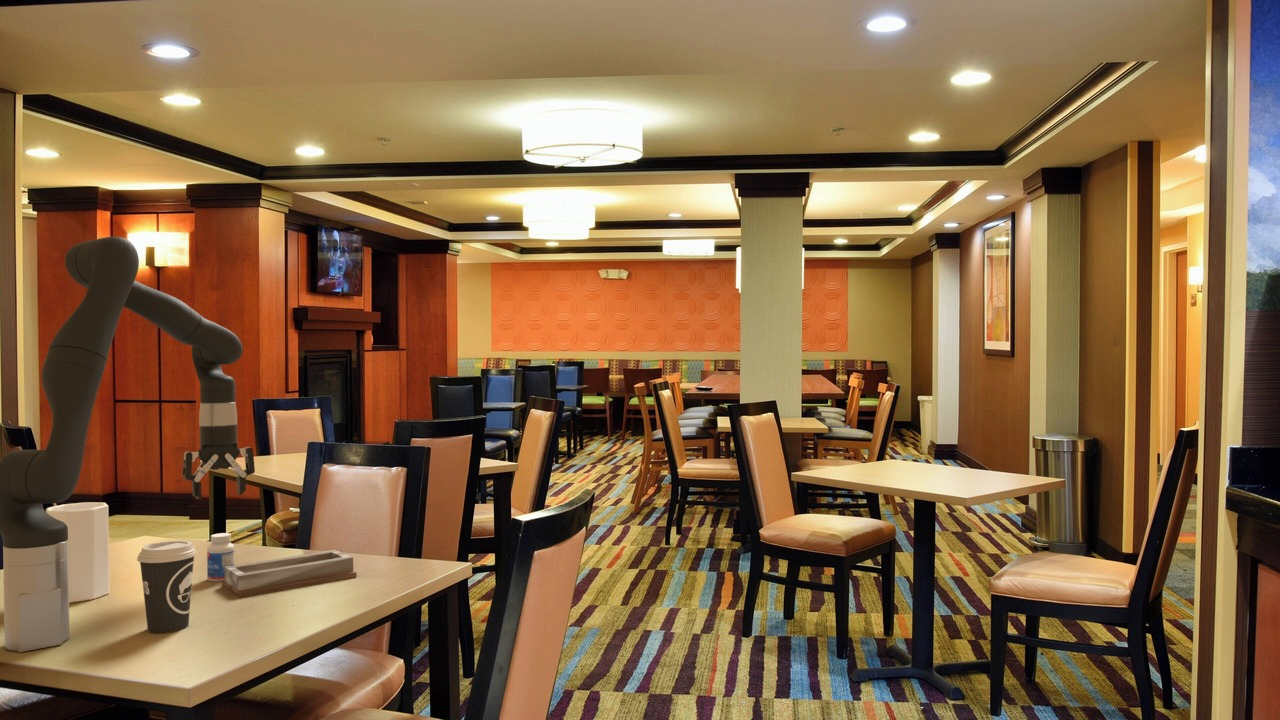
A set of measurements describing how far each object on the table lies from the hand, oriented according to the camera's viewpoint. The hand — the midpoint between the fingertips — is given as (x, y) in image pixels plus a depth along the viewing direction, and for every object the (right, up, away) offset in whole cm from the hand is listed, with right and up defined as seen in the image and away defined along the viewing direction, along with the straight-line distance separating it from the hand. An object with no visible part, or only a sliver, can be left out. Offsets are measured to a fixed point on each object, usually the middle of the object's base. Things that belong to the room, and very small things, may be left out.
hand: (219, 496), depth 193 cm
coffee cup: (+7, -19, -35) cm, 40 cm away
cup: (-23, -19, -13) cm, 32 cm away
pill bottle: (0, -18, 0) cm, 18 cm away
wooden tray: (+16, -18, -2) cm, 24 cm away
